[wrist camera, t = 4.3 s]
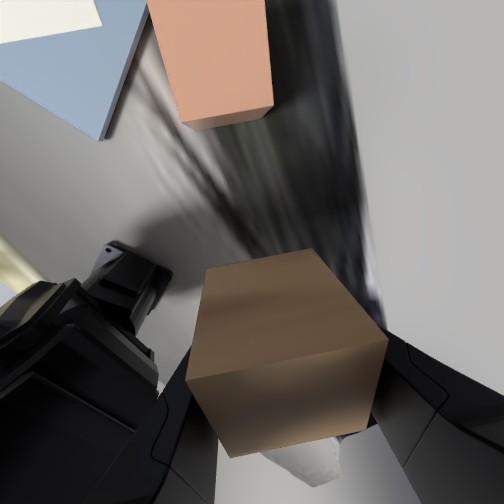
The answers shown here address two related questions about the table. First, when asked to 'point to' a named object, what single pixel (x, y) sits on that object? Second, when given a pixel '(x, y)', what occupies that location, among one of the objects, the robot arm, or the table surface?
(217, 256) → the table surface
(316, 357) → the walnut block
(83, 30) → the board
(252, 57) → the terracotta block
